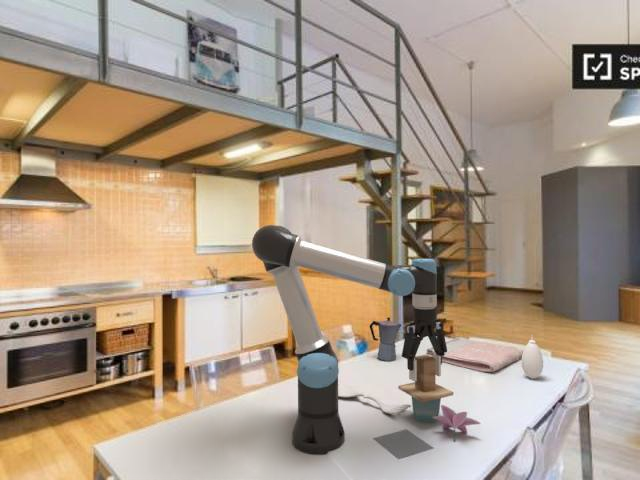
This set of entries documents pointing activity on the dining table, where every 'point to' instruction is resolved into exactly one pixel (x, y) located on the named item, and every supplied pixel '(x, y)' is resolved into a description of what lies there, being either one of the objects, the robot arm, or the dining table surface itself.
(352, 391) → the white spork
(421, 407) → the flower pot
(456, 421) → the lily
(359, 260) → the robot arm
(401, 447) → the plate
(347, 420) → the dining table surface
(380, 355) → the moka pot
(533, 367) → the white tall oval piece
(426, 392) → the lid
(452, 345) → the towel
